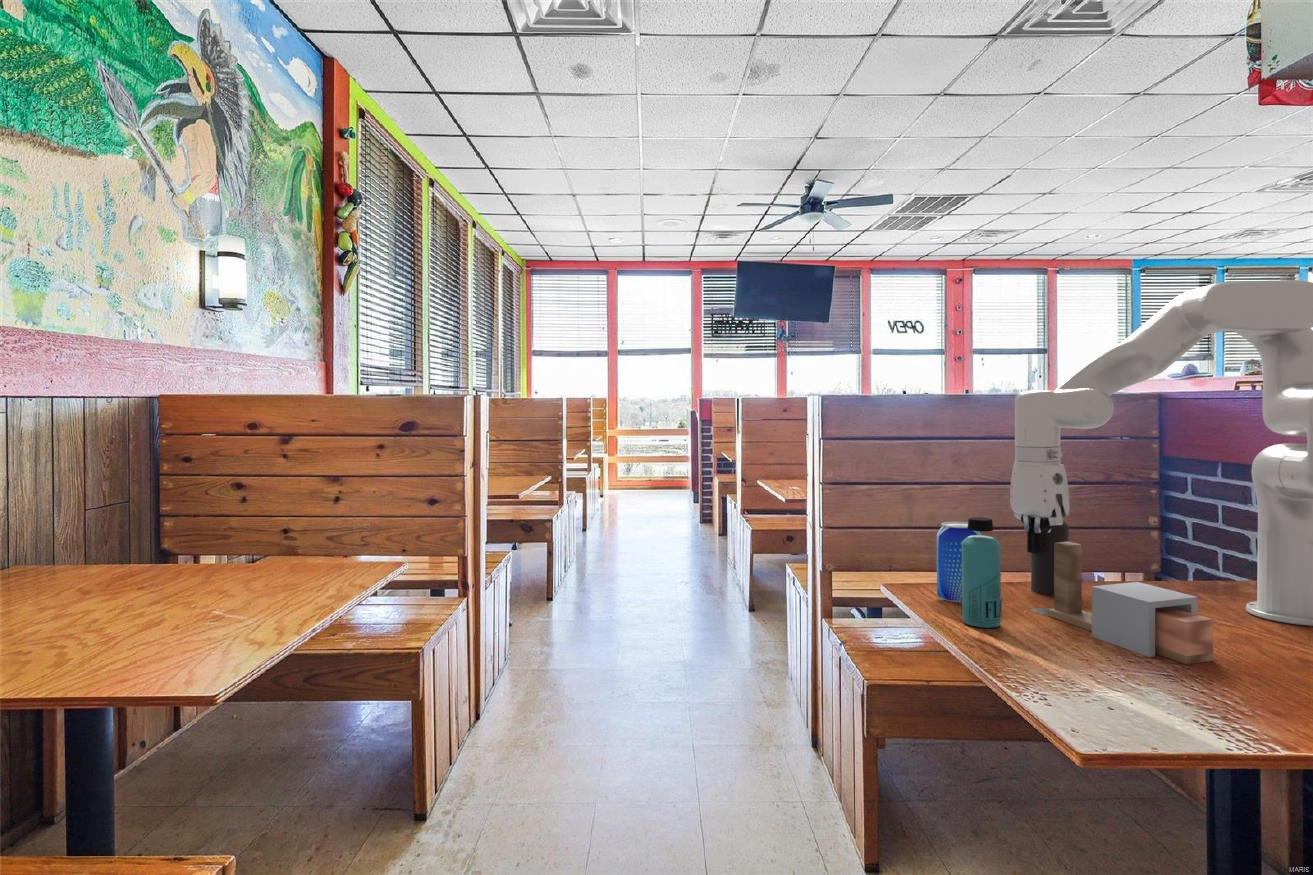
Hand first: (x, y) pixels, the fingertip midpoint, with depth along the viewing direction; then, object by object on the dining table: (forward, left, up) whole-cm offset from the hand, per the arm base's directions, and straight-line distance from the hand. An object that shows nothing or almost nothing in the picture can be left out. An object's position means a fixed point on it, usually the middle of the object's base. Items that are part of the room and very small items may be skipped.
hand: (1037, 552), depth 130 cm
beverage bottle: (+17, +6, -12) cm, 21 cm away
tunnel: (0, +22, -12) cm, 24 cm away
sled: (0, +18, -10) cm, 21 cm away
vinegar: (-11, -8, -12) cm, 18 cm away
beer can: (+9, -10, -12) cm, 18 cm away
